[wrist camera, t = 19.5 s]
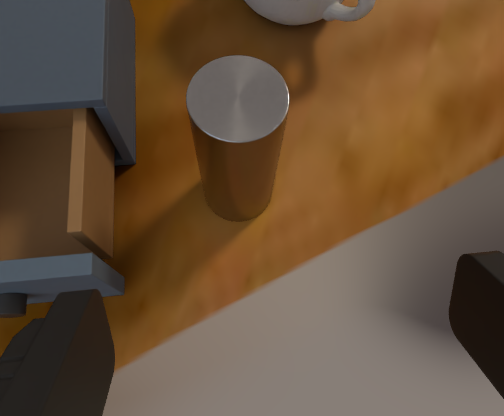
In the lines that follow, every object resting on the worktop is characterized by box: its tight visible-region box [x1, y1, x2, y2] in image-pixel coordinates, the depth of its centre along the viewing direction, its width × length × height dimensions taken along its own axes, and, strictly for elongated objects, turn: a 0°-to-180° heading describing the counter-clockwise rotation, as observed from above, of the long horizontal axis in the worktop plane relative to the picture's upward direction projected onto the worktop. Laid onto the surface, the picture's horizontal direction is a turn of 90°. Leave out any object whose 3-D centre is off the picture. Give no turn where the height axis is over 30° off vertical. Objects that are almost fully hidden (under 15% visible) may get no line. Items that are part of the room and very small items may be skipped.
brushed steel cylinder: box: [186, 55, 290, 222], centre depth 27 cm, size 5×5×12 cm
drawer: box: [0, 107, 124, 318], centre depth 27 cm, size 15×11×7 cm
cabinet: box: [0, 0, 136, 166], centre depth 31 cm, size 15×13×9 cm
